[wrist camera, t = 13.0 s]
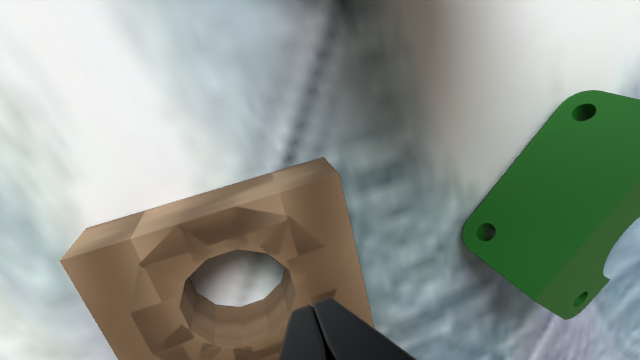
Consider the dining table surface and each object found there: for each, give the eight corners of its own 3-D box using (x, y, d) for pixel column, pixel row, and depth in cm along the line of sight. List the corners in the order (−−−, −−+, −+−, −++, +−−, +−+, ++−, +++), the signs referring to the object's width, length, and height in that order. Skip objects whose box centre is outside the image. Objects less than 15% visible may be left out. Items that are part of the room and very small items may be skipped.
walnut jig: (323, 157, 19) (339, 173, 16) (379, 389, 26) (397, 430, 23) (86, 228, 17) (59, 260, 15) (210, 458, 24) (207, 510, 21)
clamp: (475, 217, 28) (541, 335, 22) (435, 186, 25) (501, 315, 19) (643, 118, 23) (791, 235, 17) (622, 62, 20) (799, 182, 13)
